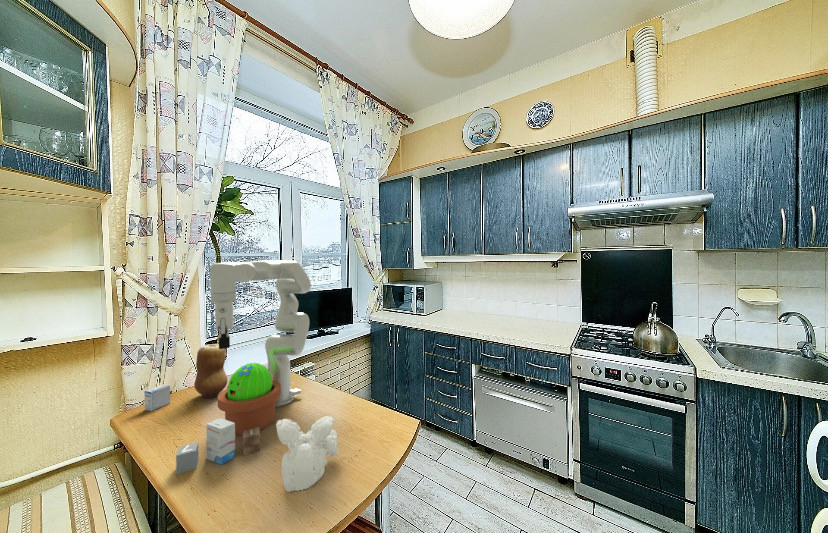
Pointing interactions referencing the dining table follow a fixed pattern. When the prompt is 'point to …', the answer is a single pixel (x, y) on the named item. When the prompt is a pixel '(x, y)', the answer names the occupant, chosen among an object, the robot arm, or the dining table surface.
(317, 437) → the cauliflower
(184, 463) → the slate block
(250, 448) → the walnut block
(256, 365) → the potted cactus
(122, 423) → the dining table surface
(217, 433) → the ink box
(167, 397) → the medicine box
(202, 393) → the butternut squash
